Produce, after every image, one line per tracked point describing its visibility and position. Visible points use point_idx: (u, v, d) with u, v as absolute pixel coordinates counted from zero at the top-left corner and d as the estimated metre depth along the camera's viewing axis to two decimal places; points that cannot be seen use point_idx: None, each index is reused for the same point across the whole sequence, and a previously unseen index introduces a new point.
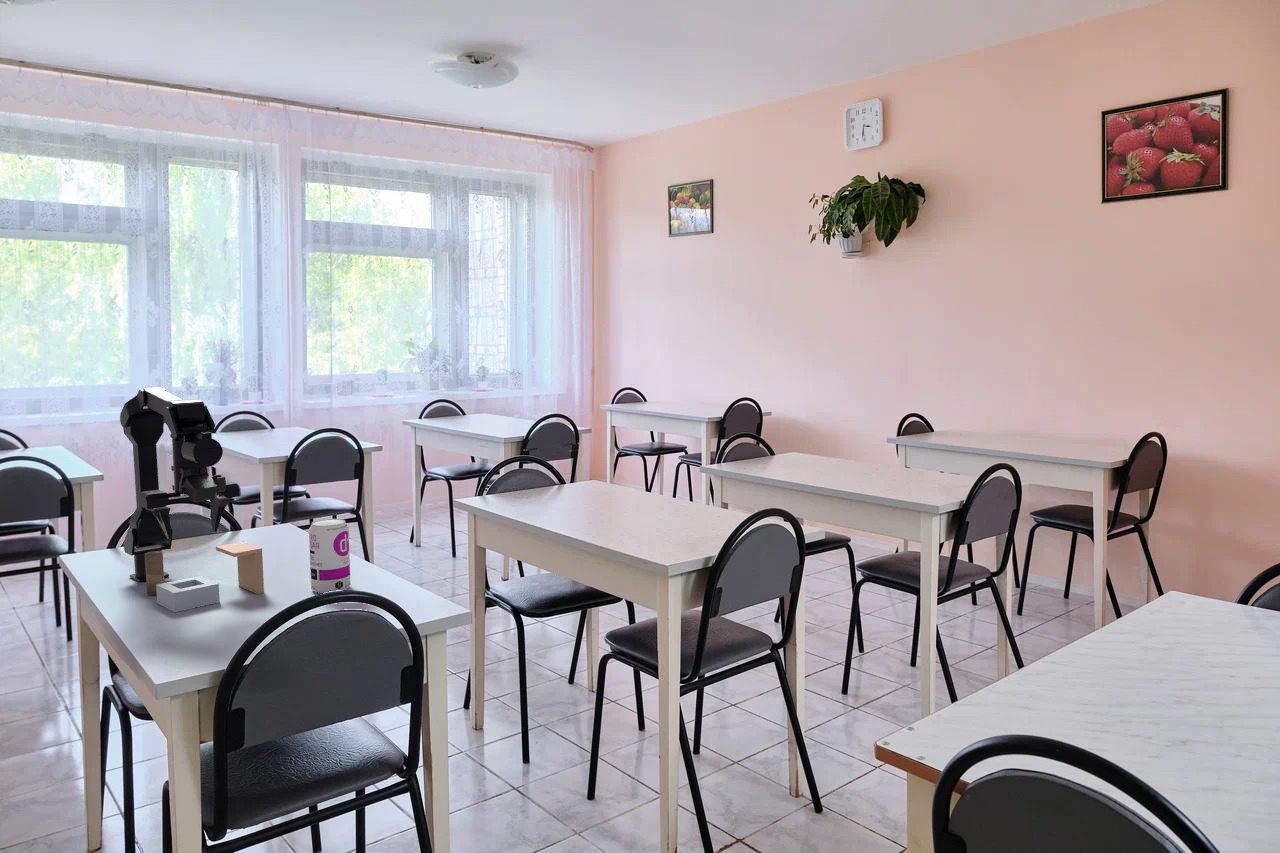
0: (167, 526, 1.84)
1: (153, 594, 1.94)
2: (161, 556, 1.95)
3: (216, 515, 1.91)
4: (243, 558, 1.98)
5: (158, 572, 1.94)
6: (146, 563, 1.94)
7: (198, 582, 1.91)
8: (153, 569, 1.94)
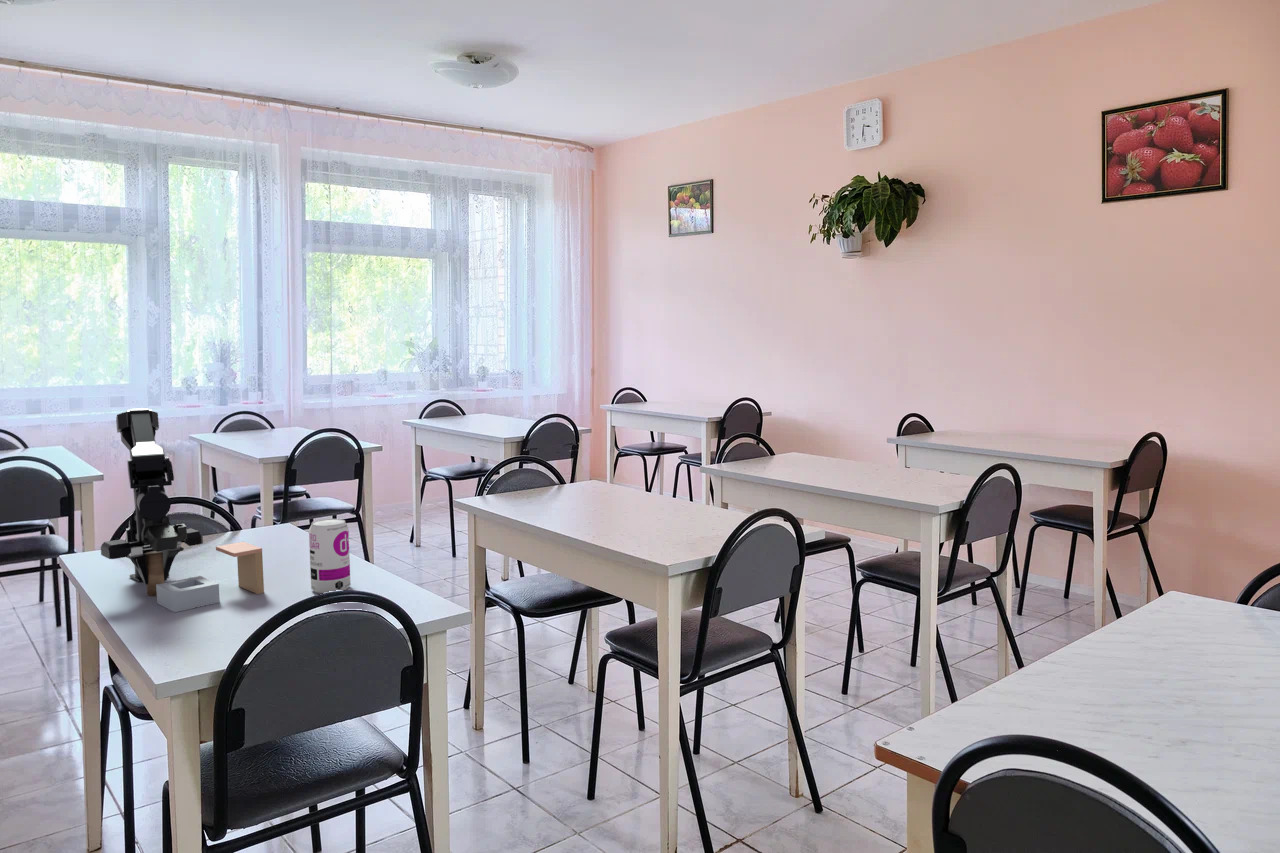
0: (144, 572, 1.93)
1: (153, 594, 1.94)
2: (161, 556, 1.95)
3: (165, 565, 1.96)
4: (243, 558, 1.98)
5: (158, 572, 1.94)
6: (146, 563, 1.94)
7: (198, 582, 1.91)
8: (153, 569, 1.94)
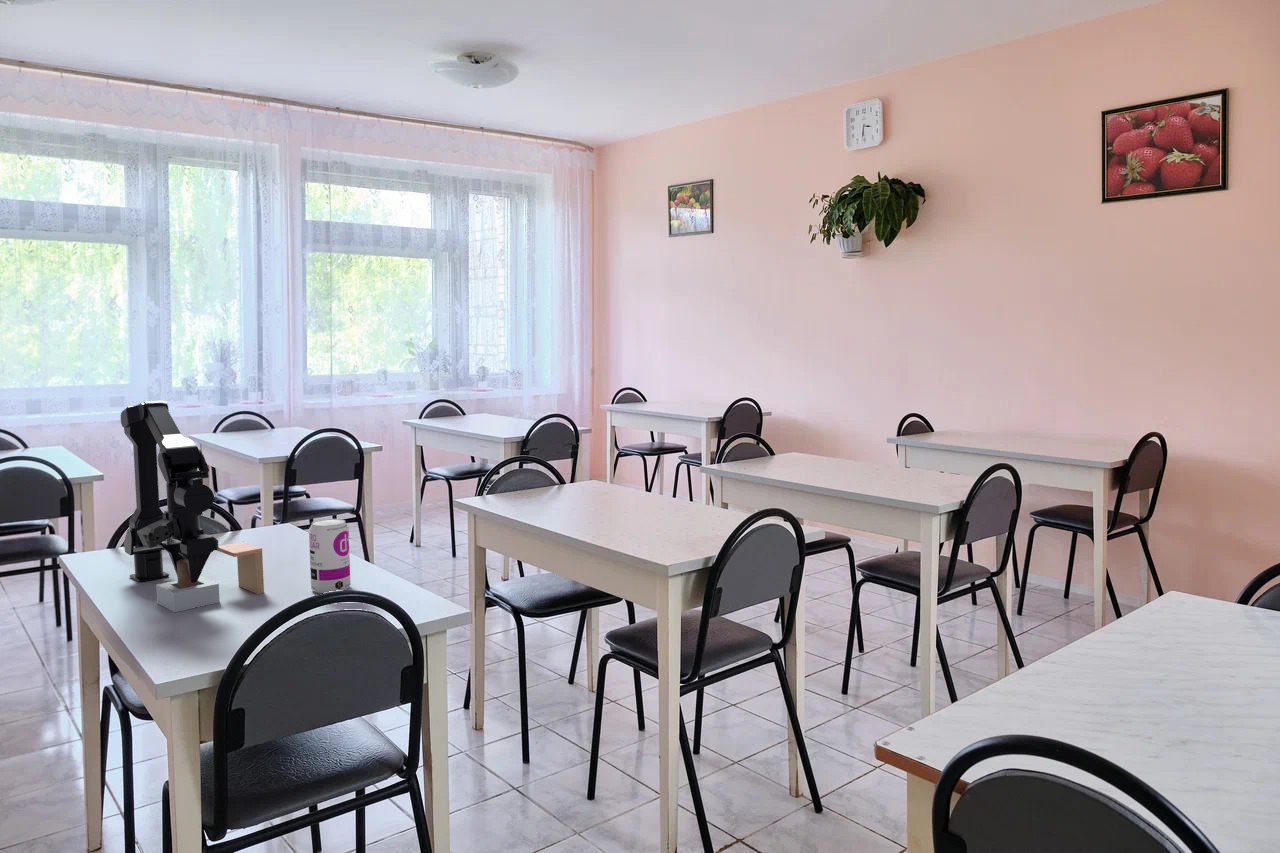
0: (173, 563, 1.90)
1: None
2: (181, 566, 1.87)
3: None
4: (243, 558, 1.98)
5: (178, 581, 1.87)
6: None
7: (198, 582, 1.91)
8: (177, 576, 1.88)
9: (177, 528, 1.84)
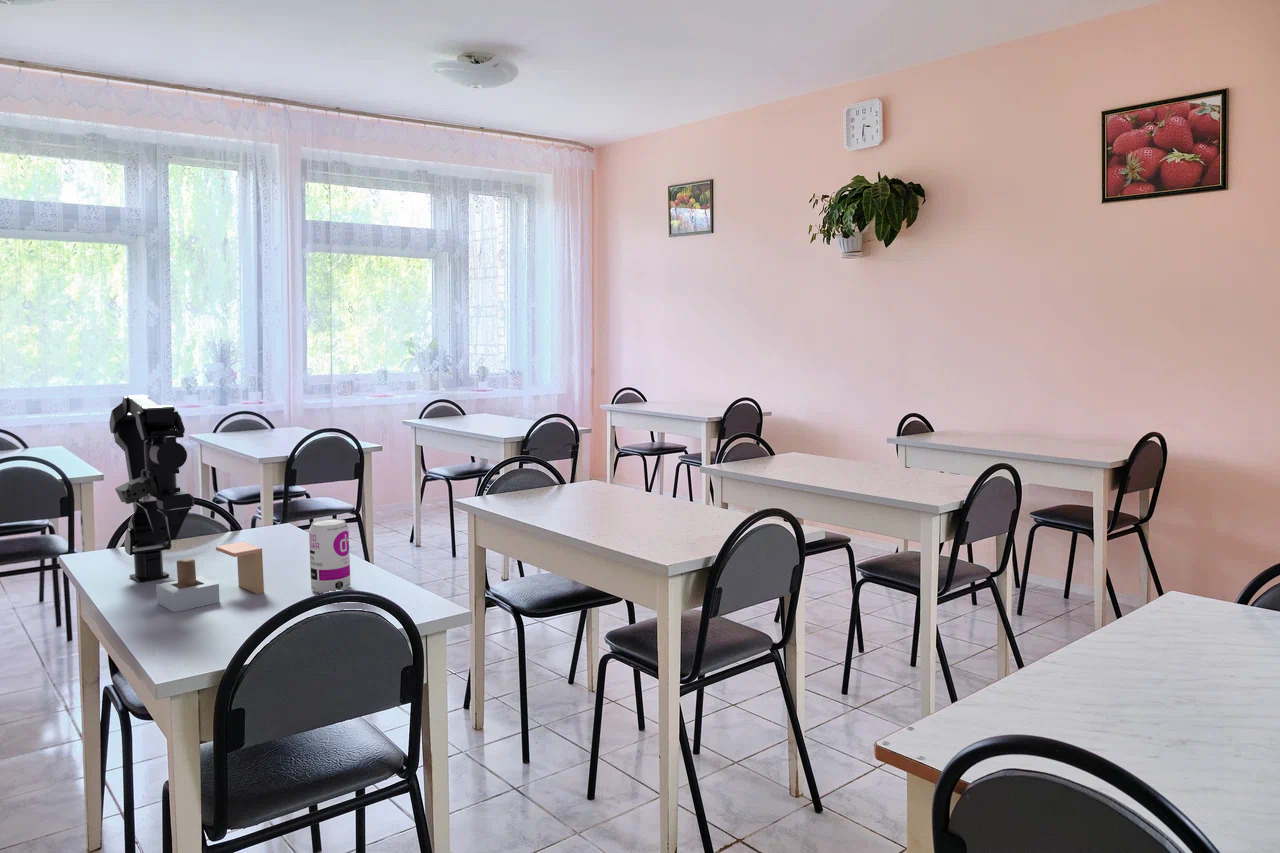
0: (149, 520, 1.98)
1: None
2: (181, 566, 1.87)
3: None
4: (243, 558, 1.98)
5: (178, 581, 1.87)
6: None
7: (198, 582, 1.91)
8: (177, 576, 1.88)
9: (154, 485, 1.90)
